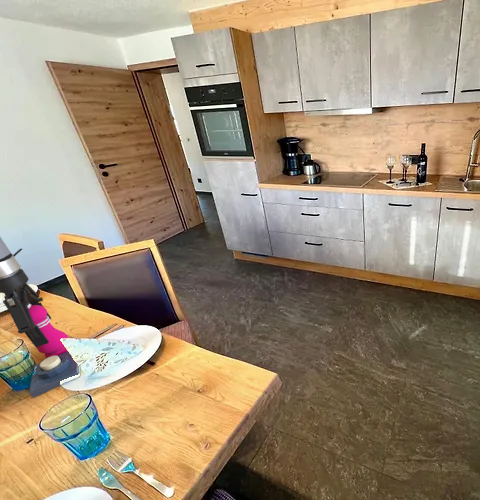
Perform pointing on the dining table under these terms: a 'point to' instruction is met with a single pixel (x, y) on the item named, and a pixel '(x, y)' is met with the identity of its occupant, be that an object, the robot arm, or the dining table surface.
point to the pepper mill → (47, 332)
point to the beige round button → (50, 363)
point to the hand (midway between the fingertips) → (44, 332)
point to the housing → (53, 375)
